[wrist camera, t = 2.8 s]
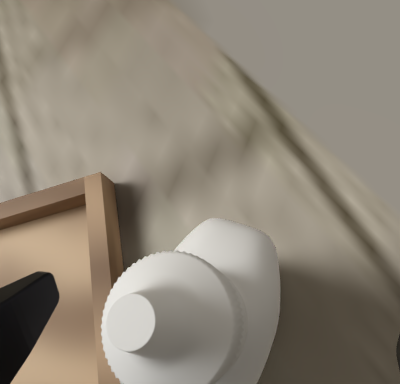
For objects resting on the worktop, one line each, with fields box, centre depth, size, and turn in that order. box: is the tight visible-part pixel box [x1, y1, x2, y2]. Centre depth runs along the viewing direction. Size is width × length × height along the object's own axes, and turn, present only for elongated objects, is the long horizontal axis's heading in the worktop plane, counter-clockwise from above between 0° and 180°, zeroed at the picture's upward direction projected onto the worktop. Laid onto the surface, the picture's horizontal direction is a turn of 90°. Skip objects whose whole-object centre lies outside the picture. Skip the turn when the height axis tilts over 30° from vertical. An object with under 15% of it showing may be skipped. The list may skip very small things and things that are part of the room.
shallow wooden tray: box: [0, 172, 124, 384], centre depth 17 cm, size 12×12×2 cm
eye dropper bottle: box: [101, 218, 280, 384], centre depth 10 cm, size 4×6×12 cm
